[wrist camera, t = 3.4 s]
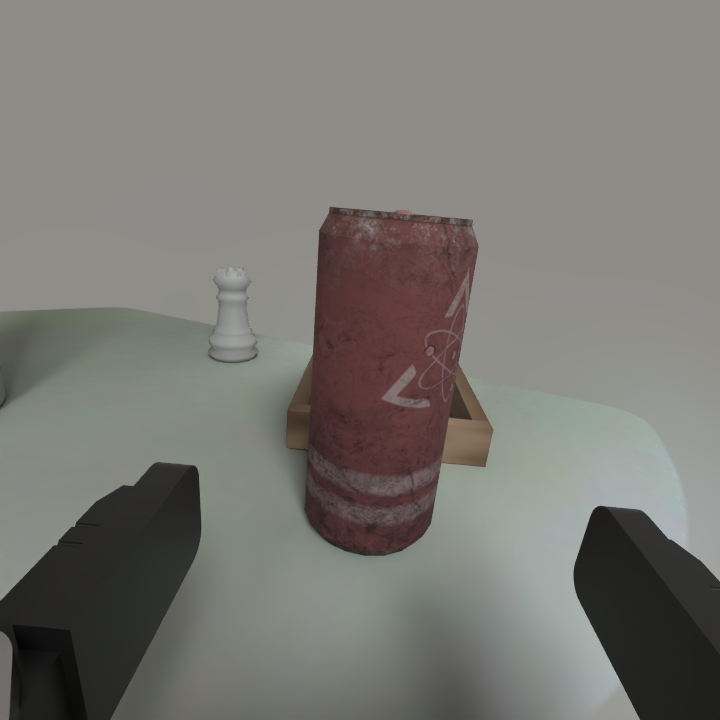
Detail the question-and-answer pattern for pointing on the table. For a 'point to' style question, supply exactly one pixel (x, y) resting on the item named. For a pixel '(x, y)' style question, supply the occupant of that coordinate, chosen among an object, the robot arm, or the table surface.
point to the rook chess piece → (232, 319)
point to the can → (384, 372)
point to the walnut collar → (463, 431)
